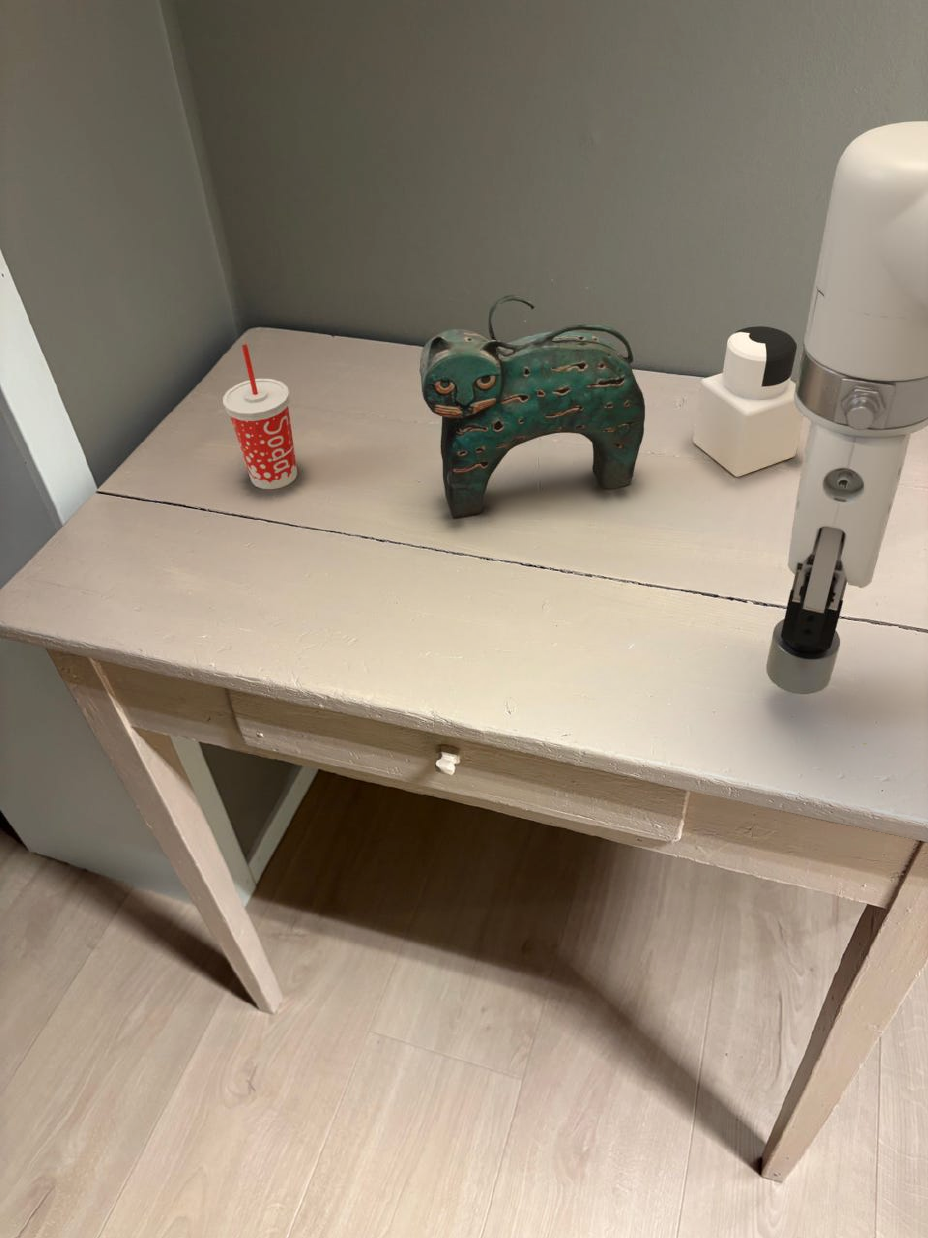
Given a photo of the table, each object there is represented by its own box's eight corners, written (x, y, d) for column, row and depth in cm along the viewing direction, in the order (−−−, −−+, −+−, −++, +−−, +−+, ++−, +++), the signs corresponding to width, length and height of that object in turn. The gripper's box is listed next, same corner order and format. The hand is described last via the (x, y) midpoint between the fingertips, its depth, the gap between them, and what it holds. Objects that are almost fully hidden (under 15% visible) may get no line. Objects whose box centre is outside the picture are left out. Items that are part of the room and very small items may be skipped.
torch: (834, 658, 69) (866, 545, 62) (825, 701, 66) (857, 588, 59) (772, 644, 70) (795, 532, 63) (760, 685, 67) (783, 573, 60)
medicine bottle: (749, 422, 97) (769, 310, 89) (796, 457, 92) (822, 342, 84) (691, 442, 95) (705, 330, 87) (736, 479, 90) (756, 364, 82)
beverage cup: (252, 500, 92) (218, 369, 82) (236, 468, 96) (202, 339, 86) (313, 482, 93) (287, 352, 84) (294, 451, 97) (268, 323, 88)
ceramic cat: (436, 529, 87) (418, 324, 73) (424, 488, 92) (404, 288, 78) (645, 493, 89) (665, 288, 76) (623, 455, 94) (638, 255, 80)
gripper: (932, 473, 46) (852, 724, 58) (953, 318, 56) (882, 559, 69) (771, 447, 48) (728, 693, 61) (820, 304, 59) (775, 539, 71)
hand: (810, 620), depth 65 cm, fingers closed on torch, 3 cm apart
